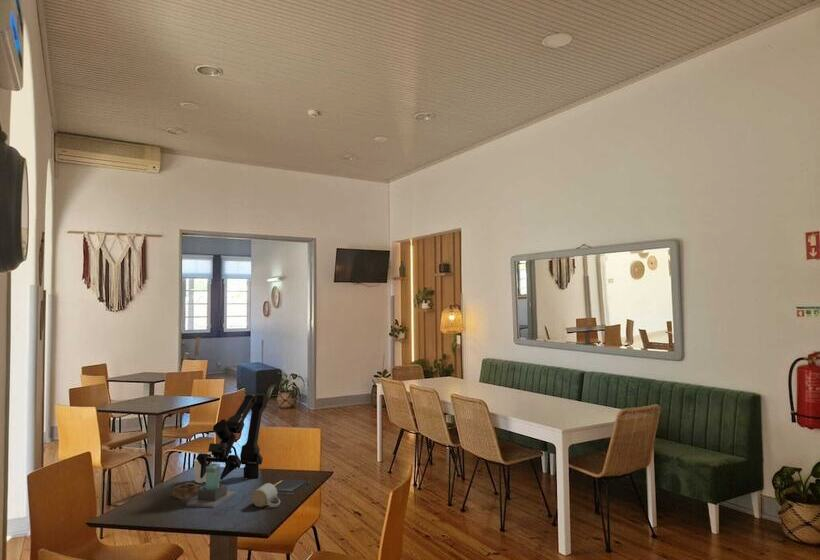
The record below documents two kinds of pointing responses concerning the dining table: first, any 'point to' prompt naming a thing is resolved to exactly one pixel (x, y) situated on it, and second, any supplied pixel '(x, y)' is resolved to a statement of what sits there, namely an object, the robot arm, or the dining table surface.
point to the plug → (212, 476)
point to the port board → (211, 497)
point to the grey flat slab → (289, 486)
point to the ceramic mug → (265, 496)
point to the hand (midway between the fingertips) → (210, 478)
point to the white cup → (198, 472)
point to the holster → (186, 490)
